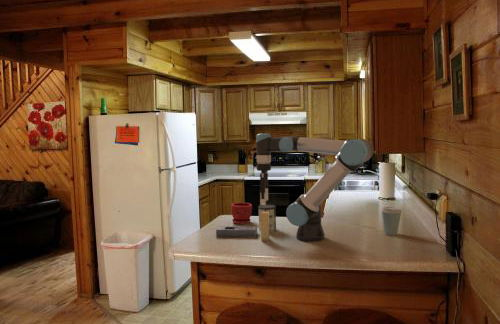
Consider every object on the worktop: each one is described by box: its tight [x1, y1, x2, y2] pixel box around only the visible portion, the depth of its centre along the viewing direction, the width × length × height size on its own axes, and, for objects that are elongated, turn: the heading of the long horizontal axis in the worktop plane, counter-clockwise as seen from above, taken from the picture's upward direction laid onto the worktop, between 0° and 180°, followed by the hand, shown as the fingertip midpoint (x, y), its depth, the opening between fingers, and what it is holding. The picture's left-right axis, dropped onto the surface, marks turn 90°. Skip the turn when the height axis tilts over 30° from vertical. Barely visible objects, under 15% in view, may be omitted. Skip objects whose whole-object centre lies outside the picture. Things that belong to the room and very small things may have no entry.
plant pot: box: [230, 202, 253, 225], centre depth 269 cm, size 13×13×12 cm
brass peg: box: [260, 212, 270, 242], centre depth 227 cm, size 4×4×15 cm
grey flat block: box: [215, 225, 258, 238], centre depth 238 cm, size 22×8×4 cm, turn 82°
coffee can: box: [257, 204, 277, 233], centre depth 249 cm, size 10×10×14 cm
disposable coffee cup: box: [380, 206, 402, 237], centre depth 232 cm, size 11×11×15 cm
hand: (264, 202), depth 226 cm, fingers open, 13 cm apart
